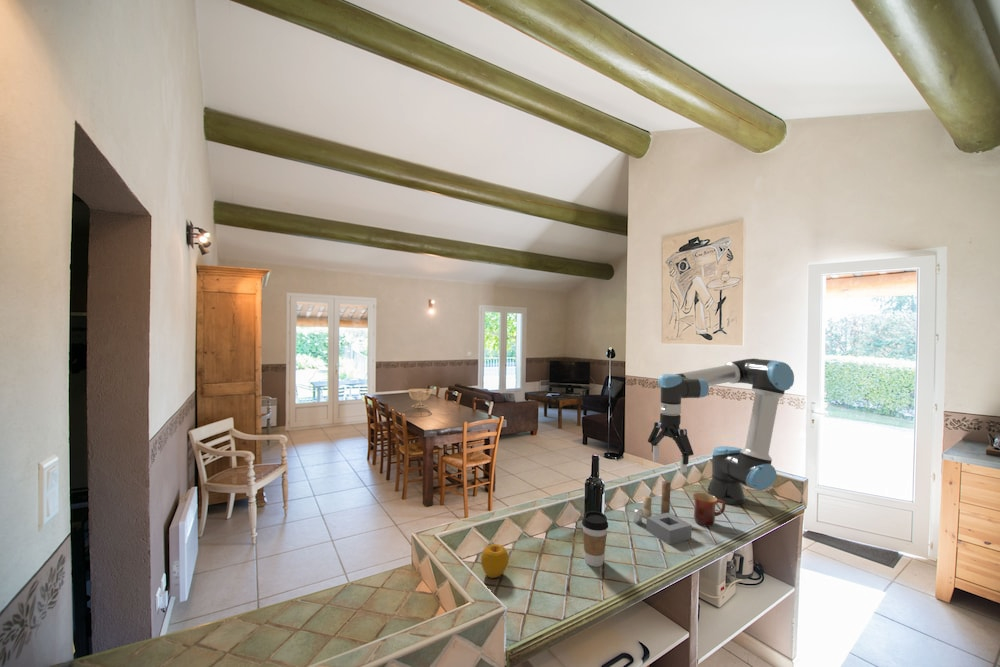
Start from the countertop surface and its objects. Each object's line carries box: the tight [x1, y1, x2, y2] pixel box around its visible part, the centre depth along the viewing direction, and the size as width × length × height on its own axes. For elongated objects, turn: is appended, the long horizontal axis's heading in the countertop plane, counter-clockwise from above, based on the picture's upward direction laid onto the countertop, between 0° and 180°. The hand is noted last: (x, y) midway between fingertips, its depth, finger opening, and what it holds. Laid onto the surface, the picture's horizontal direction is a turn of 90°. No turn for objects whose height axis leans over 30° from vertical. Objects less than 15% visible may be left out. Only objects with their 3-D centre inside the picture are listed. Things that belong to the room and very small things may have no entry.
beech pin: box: [642, 495, 653, 519], centre depth 169 cm, size 3×3×8 cm
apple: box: [480, 543, 509, 579], centre depth 128 cm, size 8×8×9 cm
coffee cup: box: [581, 510, 609, 568], centre depth 136 cm, size 8×8×15 cm
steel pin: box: [633, 507, 643, 526], centre depth 164 cm, size 3×3×5 cm
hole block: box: [645, 513, 693, 545], centre depth 155 cm, size 11×11×5 cm
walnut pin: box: [660, 480, 671, 514], centre depth 170 cm, size 3×3×14 cm
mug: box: [692, 492, 726, 527], centre depth 165 cm, size 12×9×10 cm
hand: (669, 466), depth 166 cm, fingers open, 13 cm apart
